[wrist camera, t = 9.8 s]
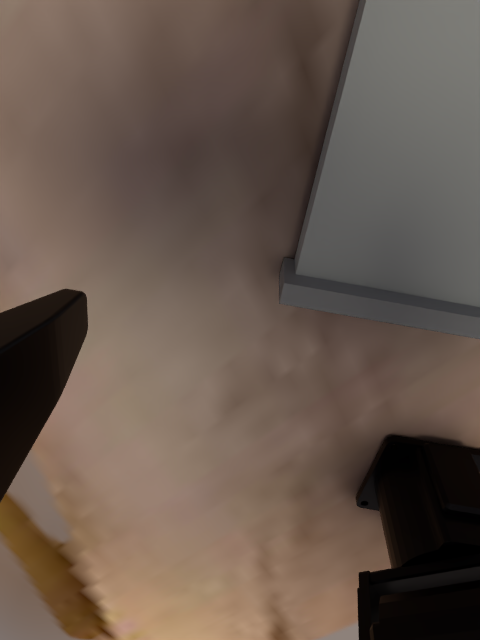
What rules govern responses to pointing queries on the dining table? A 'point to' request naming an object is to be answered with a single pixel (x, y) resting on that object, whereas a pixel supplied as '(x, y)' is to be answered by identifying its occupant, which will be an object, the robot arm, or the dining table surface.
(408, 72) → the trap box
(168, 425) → the dining table surface
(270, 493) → the dining table surface
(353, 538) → the dining table surface
